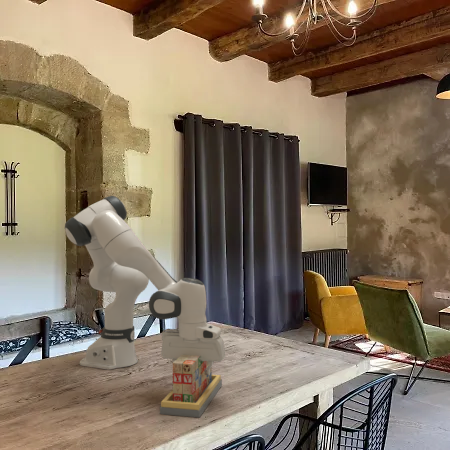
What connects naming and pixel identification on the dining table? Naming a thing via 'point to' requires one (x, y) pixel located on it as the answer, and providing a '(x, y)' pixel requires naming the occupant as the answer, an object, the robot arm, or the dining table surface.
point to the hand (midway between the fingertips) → (193, 373)
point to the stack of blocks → (189, 378)
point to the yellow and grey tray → (191, 408)
